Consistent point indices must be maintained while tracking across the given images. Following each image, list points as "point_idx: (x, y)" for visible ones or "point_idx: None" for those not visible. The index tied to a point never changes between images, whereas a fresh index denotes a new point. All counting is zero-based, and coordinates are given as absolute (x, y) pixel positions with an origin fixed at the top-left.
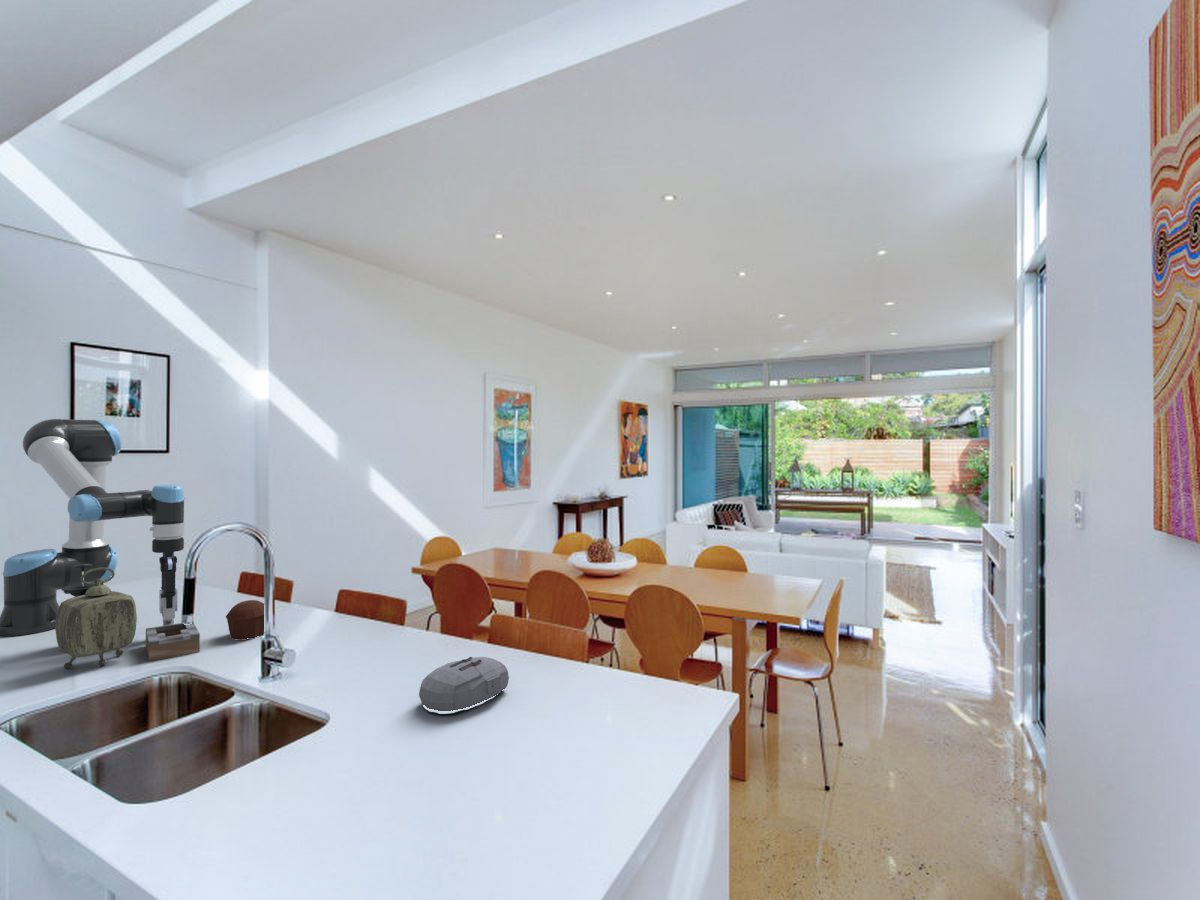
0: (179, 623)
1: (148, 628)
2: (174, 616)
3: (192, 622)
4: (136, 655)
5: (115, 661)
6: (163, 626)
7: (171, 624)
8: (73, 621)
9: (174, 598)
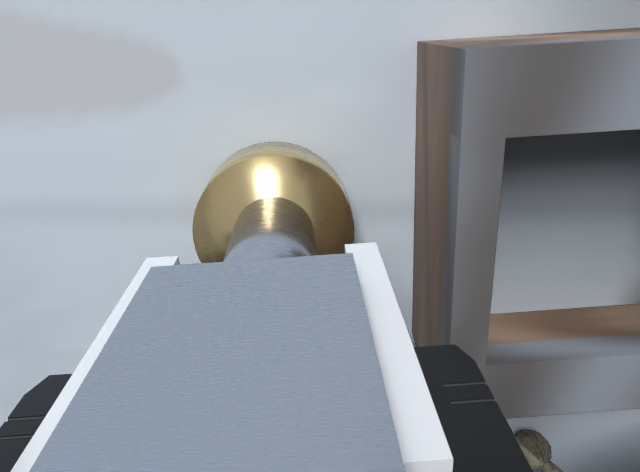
0: (467, 185)
1: None
2: (376, 254)
3: (528, 57)
4: None
5: (612, 440)
6: (480, 312)
7: (309, 238)
8: None
9: (439, 422)
